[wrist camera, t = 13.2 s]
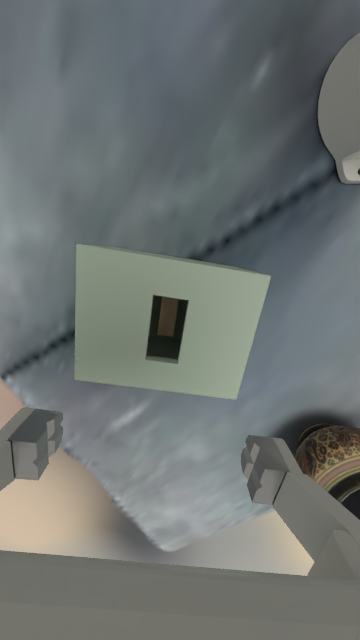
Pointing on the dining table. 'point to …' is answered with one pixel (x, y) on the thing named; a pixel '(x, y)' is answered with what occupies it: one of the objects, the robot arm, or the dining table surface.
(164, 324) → the wooden domino
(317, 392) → the dining table surface
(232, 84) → the dining table surface
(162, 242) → the dining table surface
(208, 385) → the slot box
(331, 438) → the ceramic bowl
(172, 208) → the dining table surface
